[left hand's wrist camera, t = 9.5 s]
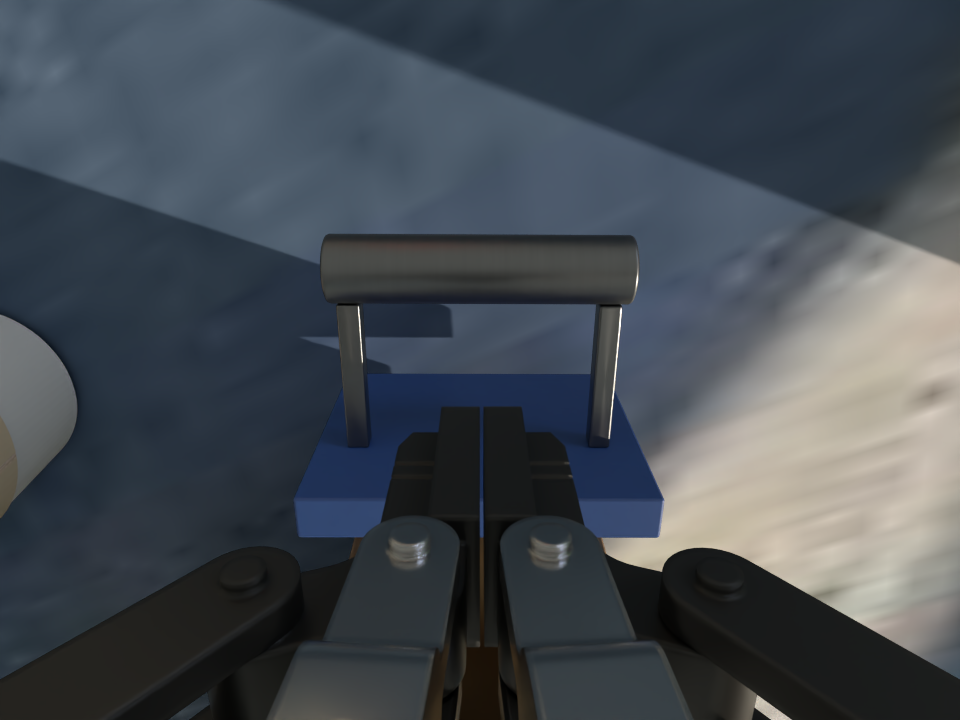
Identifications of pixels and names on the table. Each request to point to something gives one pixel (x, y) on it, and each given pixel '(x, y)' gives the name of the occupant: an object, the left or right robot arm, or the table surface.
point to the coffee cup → (30, 408)
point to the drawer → (477, 388)
